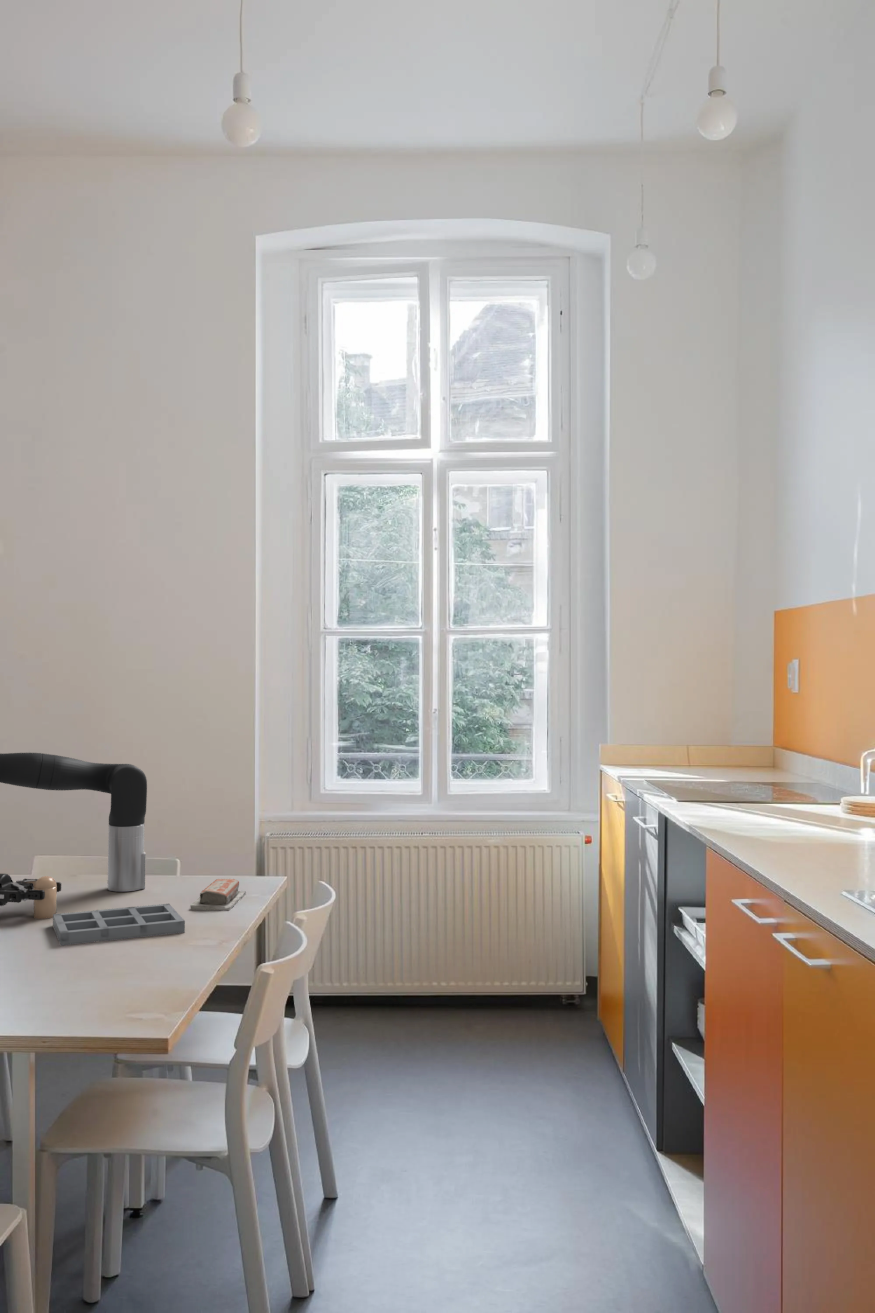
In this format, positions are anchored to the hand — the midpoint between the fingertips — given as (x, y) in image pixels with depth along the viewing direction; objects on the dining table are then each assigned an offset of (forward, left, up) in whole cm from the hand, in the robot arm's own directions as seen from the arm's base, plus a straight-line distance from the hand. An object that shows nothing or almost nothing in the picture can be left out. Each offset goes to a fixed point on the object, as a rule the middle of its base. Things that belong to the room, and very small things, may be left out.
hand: (52, 891), depth 234 cm
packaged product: (-40, +1, -7) cm, 40 cm away
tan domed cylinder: (+2, -1, -6) cm, 6 cm away
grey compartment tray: (-12, +18, -6) cm, 23 cm away
